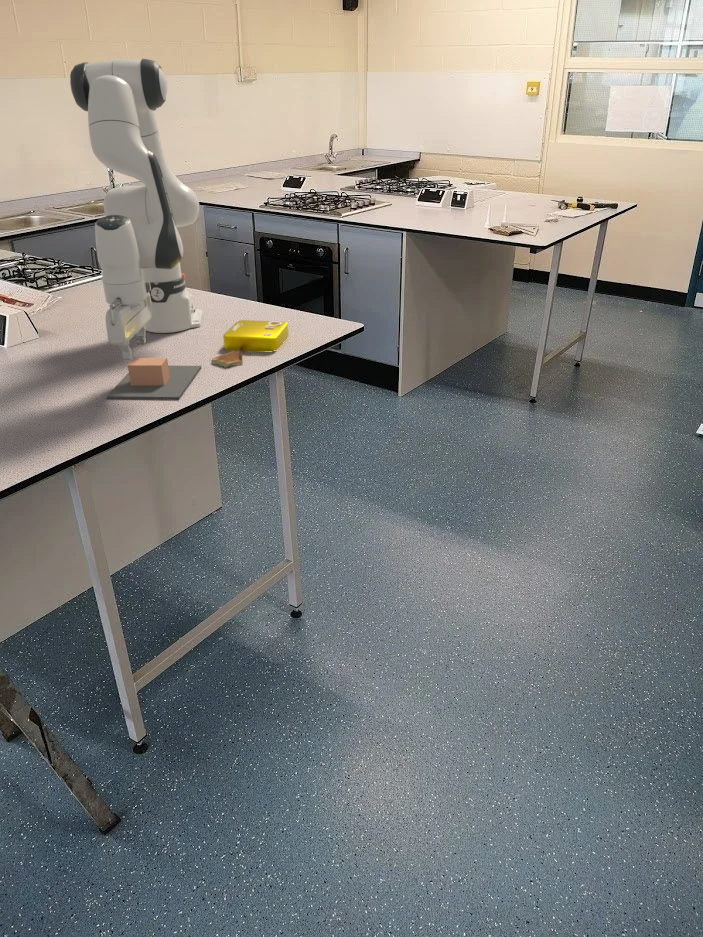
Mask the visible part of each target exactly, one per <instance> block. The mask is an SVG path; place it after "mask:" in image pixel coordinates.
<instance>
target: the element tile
mask: <svg viewBox="0 0 703 937" xmlns="http://www.w3.org/2000/svg"><path fill="white" fill-rule="evenodd" d="M288 336H289V337H290V335H289V323H288V322H287V321H279V320H277V321H275V320H252V319H251V320H249V319H240V320H237V321H236V322H235V323H234V324H233V325H232V326H231V327H230V328H229V329H228V330H226V332H225V333H224V334H223V336H222V337H223V338H222V339H223V346H224V350H226V351H229V352H232V351H235V350H238V349H240V348H242V352H248V351H274V350H277V349H278V348H279V347H280V346H281V345H282V344H283V342H284V341H285V340H286V339H287V337H288ZM289 337H288V338H289ZM287 340H288V339H287ZM287 340H286V341H287ZM286 341H285V342H286ZM285 342H284V343H285ZM283 345H284V344H283ZM283 345H282V346H283ZM282 346H281V347H282ZM281 347H280V348H281Z"/></svg>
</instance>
